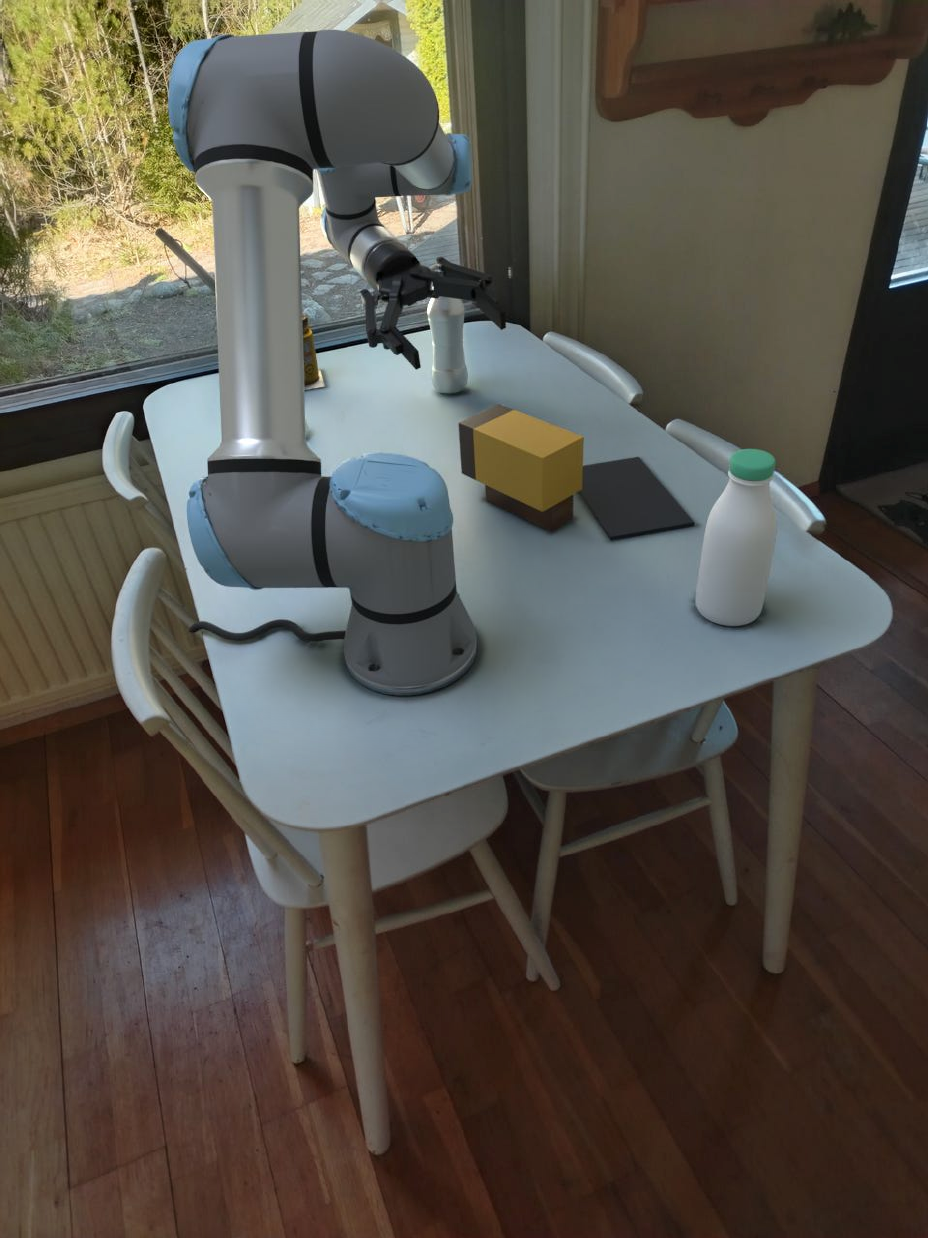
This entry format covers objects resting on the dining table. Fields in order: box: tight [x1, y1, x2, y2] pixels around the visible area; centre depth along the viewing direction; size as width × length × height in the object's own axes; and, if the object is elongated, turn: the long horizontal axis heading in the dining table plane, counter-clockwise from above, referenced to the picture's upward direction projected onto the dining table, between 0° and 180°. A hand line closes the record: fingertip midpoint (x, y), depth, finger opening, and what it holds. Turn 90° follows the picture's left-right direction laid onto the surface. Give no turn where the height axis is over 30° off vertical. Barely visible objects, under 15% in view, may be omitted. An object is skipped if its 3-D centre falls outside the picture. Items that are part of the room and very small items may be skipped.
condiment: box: [302, 313, 325, 391], centre depth 160 cm, size 7×8×12 cm
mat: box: [577, 456, 695, 541], centre depth 123 cm, size 12×20×1 cm, turn 13°
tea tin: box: [457, 403, 585, 512], centre depth 118 cm, size 16×8×8 cm, turn 43°
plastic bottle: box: [426, 296, 469, 394], centre depth 150 cm, size 6×7×20 cm
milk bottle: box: [694, 448, 778, 627], centre depth 96 cm, size 8×8×20 cm
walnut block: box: [484, 484, 575, 533], centre depth 121 cm, size 13×4×4 cm, turn 43°
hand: (461, 340), depth 115 cm, fingers open, 13 cm apart
